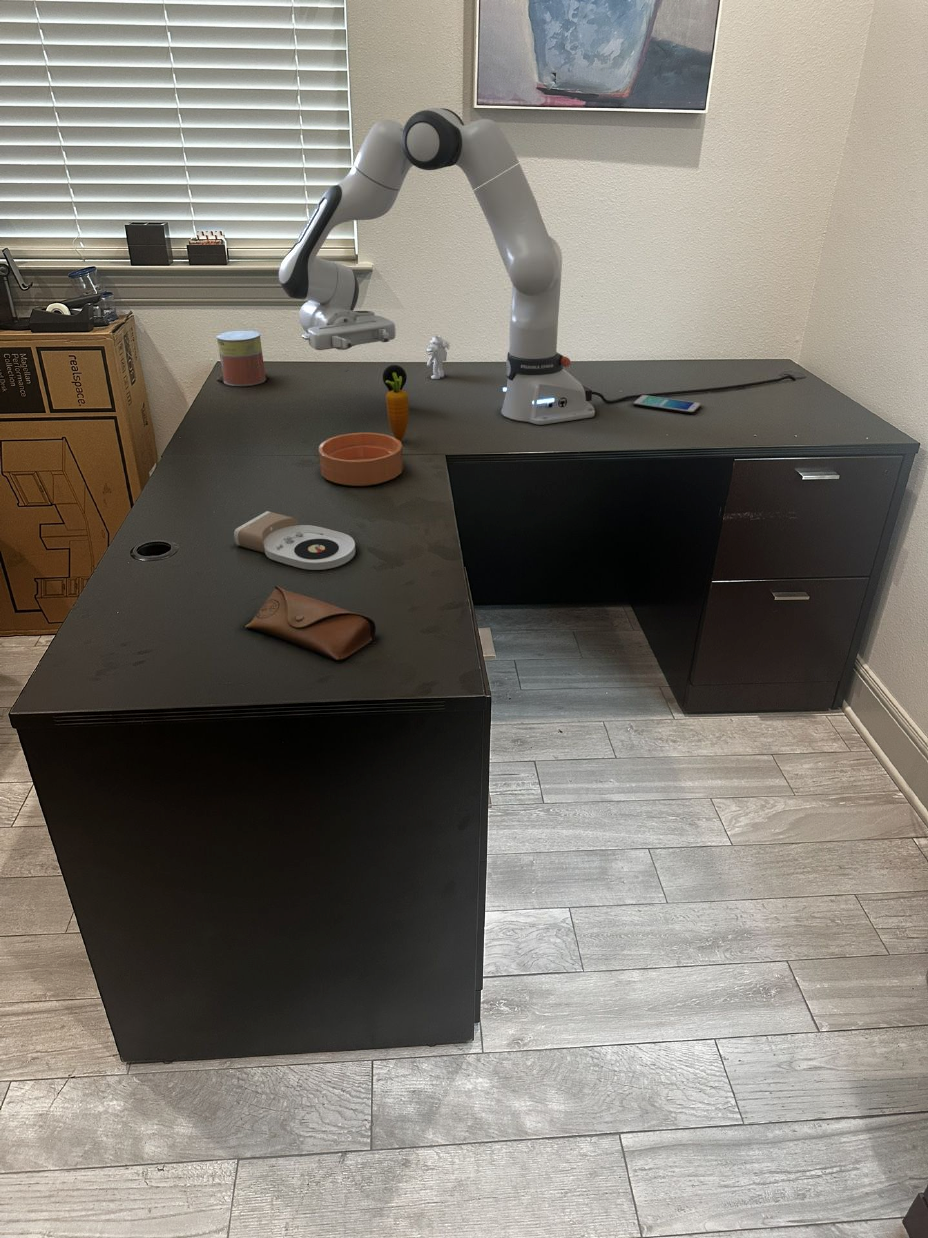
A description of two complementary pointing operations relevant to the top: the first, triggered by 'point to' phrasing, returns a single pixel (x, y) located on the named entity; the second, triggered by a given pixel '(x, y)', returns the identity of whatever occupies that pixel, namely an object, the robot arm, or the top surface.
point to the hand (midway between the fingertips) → (367, 341)
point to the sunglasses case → (313, 624)
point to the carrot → (397, 408)
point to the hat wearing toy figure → (437, 355)
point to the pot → (361, 458)
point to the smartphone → (667, 404)
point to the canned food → (241, 357)
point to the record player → (295, 542)
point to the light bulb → (388, 375)
